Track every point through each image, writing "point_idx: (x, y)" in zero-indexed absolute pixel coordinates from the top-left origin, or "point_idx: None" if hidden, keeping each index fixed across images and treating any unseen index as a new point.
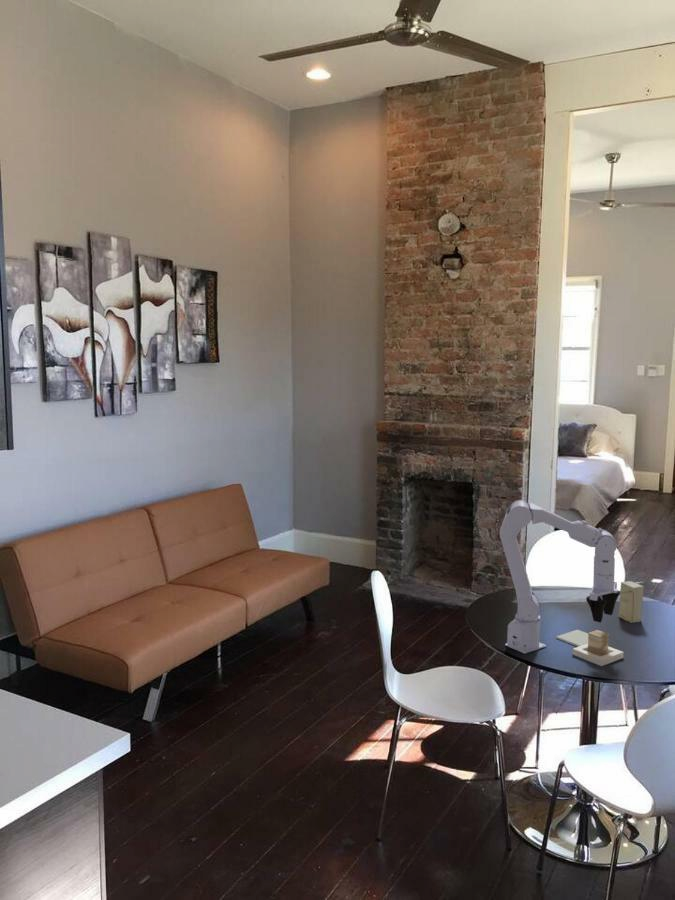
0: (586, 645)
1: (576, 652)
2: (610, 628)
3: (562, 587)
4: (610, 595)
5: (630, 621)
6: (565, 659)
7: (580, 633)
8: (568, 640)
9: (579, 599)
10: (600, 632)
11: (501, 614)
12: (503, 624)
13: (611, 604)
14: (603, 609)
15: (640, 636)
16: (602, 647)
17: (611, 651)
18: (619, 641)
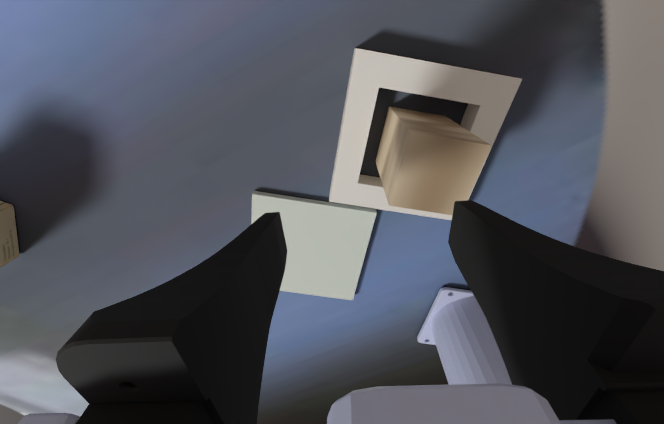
0: None
1: None
2: (130, 229)
3: (31, 413)
4: (230, 355)
5: (8, 209)
6: (508, 205)
7: None
8: (357, 266)
9: (45, 367)
10: (417, 176)
11: (307, 417)
12: None
13: (255, 267)
14: (531, 247)
15: (77, 114)
16: (442, 124)
17: (375, 102)
18: (203, 151)
